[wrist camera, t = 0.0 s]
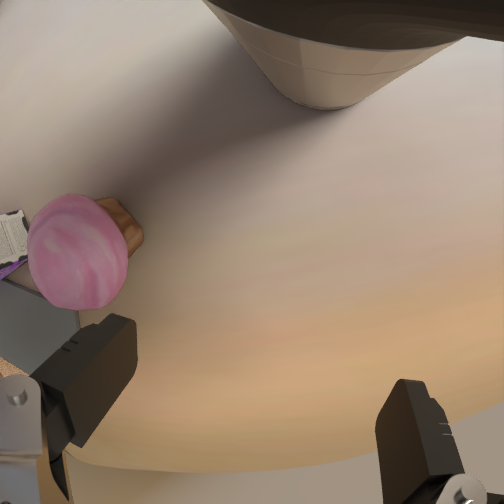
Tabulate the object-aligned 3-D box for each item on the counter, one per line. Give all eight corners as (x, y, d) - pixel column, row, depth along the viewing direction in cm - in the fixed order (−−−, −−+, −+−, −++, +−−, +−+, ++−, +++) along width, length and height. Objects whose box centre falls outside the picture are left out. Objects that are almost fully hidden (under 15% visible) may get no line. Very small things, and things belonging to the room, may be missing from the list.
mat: (-31, 261, 35) (-34, 262, 34) (77, 308, 32) (74, 311, 32) (-8, 348, 41) (-10, 350, 40) (96, 405, 39) (94, 408, 38)
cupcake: (180, 232, 27) (117, 283, 18) (128, 291, 30) (68, 349, 21) (110, 161, 26) (28, 181, 16) (69, 227, 29) (-3, 265, 20)
